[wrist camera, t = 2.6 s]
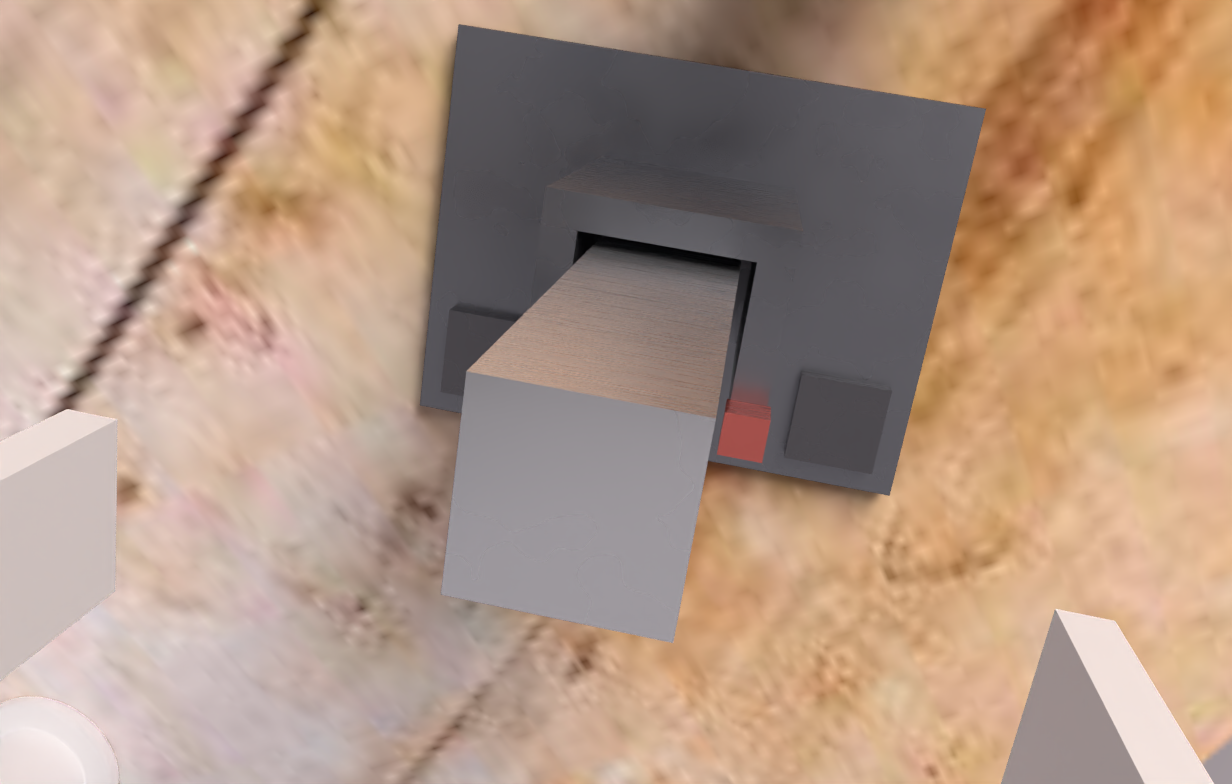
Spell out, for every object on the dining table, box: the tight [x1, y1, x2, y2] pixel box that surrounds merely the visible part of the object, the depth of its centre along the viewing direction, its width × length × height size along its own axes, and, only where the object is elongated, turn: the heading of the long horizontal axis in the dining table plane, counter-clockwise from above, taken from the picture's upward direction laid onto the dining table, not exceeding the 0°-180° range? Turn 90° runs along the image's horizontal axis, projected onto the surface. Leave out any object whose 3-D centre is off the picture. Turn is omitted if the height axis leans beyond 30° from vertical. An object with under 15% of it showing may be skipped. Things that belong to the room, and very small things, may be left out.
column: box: [441, 235, 741, 643], centre depth 28 cm, size 4×5×22 cm
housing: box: [420, 24, 986, 495], centre depth 34 cm, size 18×14×12 cm
